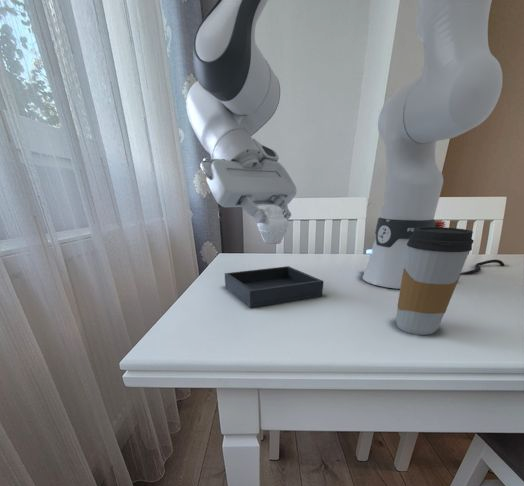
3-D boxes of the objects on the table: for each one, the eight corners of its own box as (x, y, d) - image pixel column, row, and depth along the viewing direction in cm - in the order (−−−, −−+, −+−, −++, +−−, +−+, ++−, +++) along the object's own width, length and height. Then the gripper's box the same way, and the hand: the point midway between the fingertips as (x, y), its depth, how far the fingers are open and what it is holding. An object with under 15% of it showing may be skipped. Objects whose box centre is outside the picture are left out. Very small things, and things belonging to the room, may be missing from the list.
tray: (287, 279, 74) (288, 266, 72) (322, 296, 62) (323, 280, 61) (225, 287, 68) (224, 273, 66) (250, 308, 56) (249, 291, 54)
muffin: (287, 240, 62) (289, 203, 58) (287, 245, 56) (289, 205, 53) (258, 240, 62) (258, 203, 59) (255, 245, 57) (255, 204, 53)
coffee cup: (452, 340, 44) (489, 234, 37) (393, 335, 46) (418, 232, 38) (435, 319, 51) (463, 227, 44) (385, 315, 53) (404, 225, 46)
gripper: (202, 141, 49) (244, 209, 48) (281, 152, 62) (315, 205, 61) (189, 173, 54) (228, 235, 52) (265, 176, 67) (297, 226, 66)
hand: (275, 219), depth 57 cm, fingers closed on muffin, 6 cm apart
